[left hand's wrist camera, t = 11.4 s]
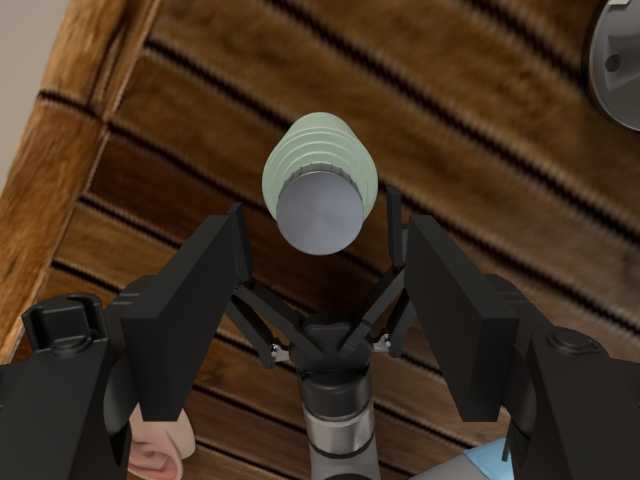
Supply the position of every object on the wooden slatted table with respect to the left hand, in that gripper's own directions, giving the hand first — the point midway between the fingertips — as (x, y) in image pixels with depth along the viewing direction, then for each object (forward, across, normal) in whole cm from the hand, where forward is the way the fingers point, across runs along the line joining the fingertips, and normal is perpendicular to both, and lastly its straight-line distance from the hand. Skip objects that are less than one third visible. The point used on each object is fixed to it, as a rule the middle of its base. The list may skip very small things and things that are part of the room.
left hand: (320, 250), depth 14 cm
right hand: (+19, +1, +3) cm, 19 cm away
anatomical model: (+25, +22, +35) cm, 48 cm away
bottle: (+25, 0, 0) cm, 25 cm away
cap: (+5, 0, 0) cm, 5 cm away
